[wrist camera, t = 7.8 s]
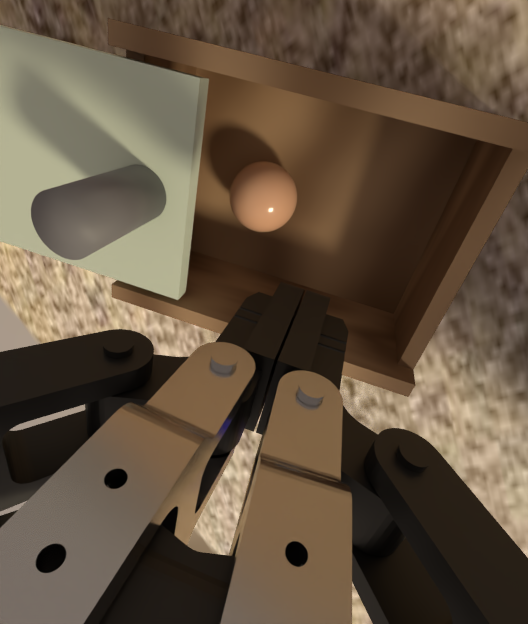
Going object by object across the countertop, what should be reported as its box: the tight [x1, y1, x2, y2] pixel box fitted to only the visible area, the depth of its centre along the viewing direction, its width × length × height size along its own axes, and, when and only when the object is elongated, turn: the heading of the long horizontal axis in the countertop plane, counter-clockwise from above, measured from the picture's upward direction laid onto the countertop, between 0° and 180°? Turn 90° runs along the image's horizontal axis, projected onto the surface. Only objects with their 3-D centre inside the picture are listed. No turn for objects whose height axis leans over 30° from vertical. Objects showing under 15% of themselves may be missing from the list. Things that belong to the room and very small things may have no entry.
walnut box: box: [108, 18, 528, 397], centre depth 19 cm, size 16×12×7 cm
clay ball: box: [230, 161, 297, 232], centre depth 20 cm, size 4×4×4 cm
